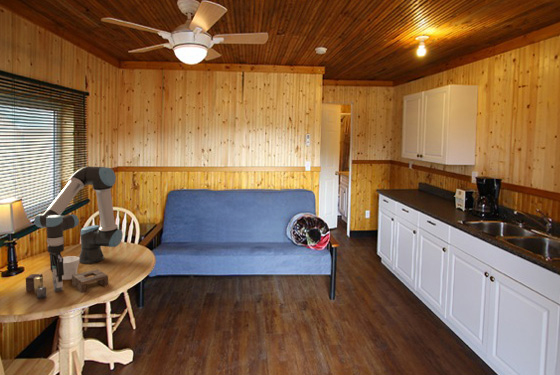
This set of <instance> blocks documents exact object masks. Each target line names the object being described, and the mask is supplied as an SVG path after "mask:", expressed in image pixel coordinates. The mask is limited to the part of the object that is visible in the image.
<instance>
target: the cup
mask: <svg viewBox="0 0 560 375" xmlns="http://www.w3.org/2000/svg"><path fill="white" fill-rule="evenodd" d="M61 258H63V268H64V275H62V280H63V281H68V280H72V275H75V274H78V267H79V265H80V262H79V260H80V258H79V256H75V255H72V256H71V255H69V256H68V255H67V256H62V257H61Z"/></svg>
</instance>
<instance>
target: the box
mask: <svg viewBox="0 0 560 375" xmlns="http://www.w3.org/2000/svg"><path fill="white" fill-rule="evenodd" d="M36 277H43V273H31V274H30V275H28V276H26V277H25V288H26V289H25V290H26V292H29V291H30V292H33V291H34V278H36ZM34 292H35V291H34Z"/></svg>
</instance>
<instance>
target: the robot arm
mask: <svg viewBox="0 0 560 375" xmlns="http://www.w3.org/2000/svg"><path fill="white" fill-rule="evenodd" d="M116 178H117V177H116V173H115V172H114V170H113V168H110V167H106V166H90V165H89V166H84V167H81V168H79V169H77V171H75V172H74V173H73V174H72V175H71V176H70V177H69V178H68V180H67V181H68V182H67V183H66V185H65V186H64V187H63V189H62V190H61V191H60V193H59V194H58V195H57V197H55V199H54V200H53V201H52V202H51V204H50V205H49V206H48V208H47V209H46V210H45V212H44V213H39V214H37V215H35V217H34V220H33V221H34V222H33V223H34V225H35V226H36V227H38V228H41V229H42V228H43V229H45V228H46V239H45V240H46V241H45V242H47V253H49V264H50V265H49V266H50V268H49V269H50V271H51V276H52V278H53V268H52V266H53V265H56V272H57V276H56V281H57V288H59V287H62V288H63V287H64V284H63V281H64V280H62V275H64V268H63V258H62V257H63V256H62V254H61V253H62V252H64V250H65V245H64V243H65V239H64V238H65V237H64V232H65V231H68V230H70V229H74V228H75V227H77V226H79V223H80V219H79V217H78V216H77V215H76V214H67V215H62V213H64V211H65V210H66V209H67V207H68V206H69V205H70V203H71V201H72V200H73V199H74V198H75V196H77V194H78V192H79V191H80V190H83V188H85V187H86V186H87V185H89V186H92V190H94V191H95V195H96V201H97V208H98V215H99V223H100V225H97V224H95V225H89V226H85V227H82V228H81V229H80V253H79V255H78V257H79V258H80V260H79V264H80V263H81V264H95V263H99V262H102V261H104V260H105V257H104V253H103V251H102V248H101V247H108V248H112V247H113V248H116V247H118V246H119V245H120V244H121V243H122V239H123V233H124V232H123V231H122V230H121V229H120V228H119V227H118V224H116V222H115V215H114V214H115V213H114V206H113V199H112V191H111V190H112V189H113V186H114V185H115V183H116V180H117V179H116Z"/></svg>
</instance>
